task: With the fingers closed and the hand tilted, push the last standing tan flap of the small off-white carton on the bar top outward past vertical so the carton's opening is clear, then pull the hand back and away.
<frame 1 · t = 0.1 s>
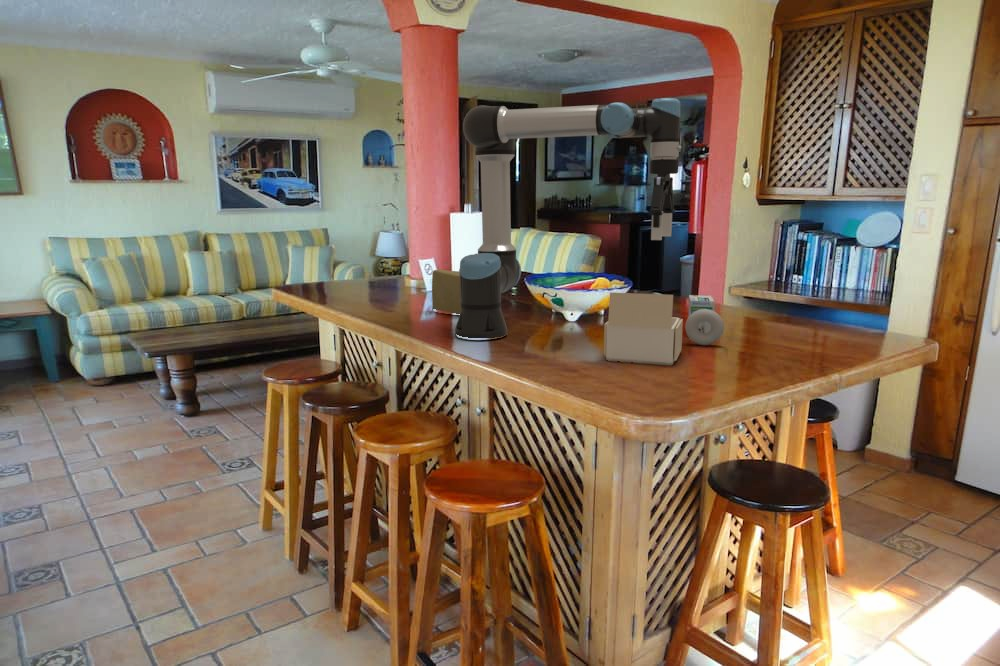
hand: (661, 238, 190), 28 cm above the countertop, tool pointing down, fingers open, 13 cm apart
brown box: (458, 315, 234), on the countertop
flap: (640, 310, 165), point 13 cm above the countertop, hinge at -10.0°
donut: (703, 346, 185), on the countertop
light bulb box: (700, 335, 199), on the countertop
carton: (643, 356, 174), on the countertop
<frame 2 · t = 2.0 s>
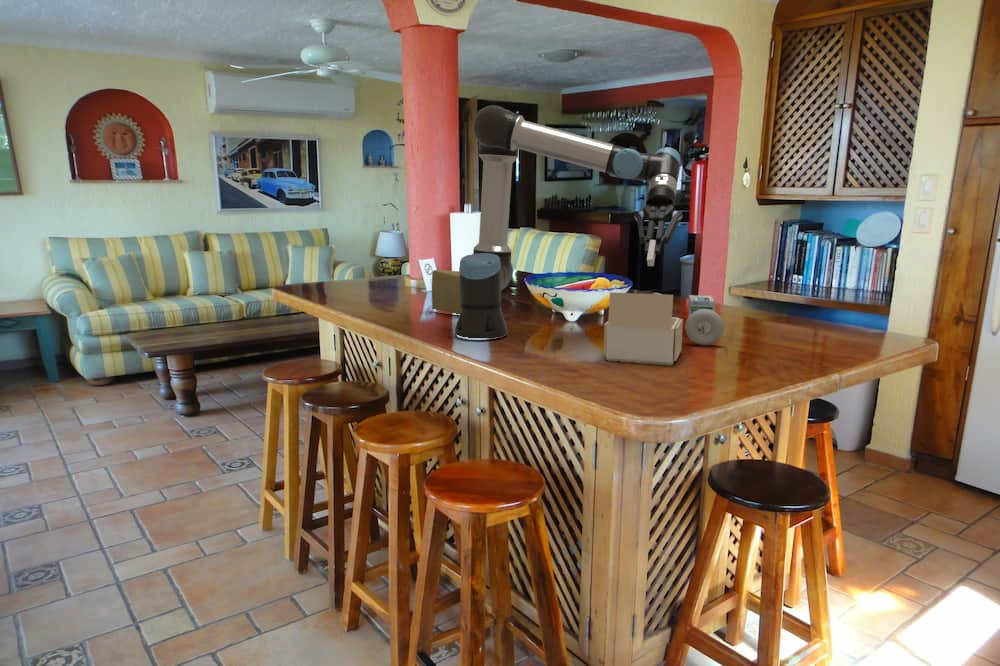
hand: (650, 262, 177), 23 cm above the countertop, tool tilted 45°, fingers closed
nothing on the countertop moved.
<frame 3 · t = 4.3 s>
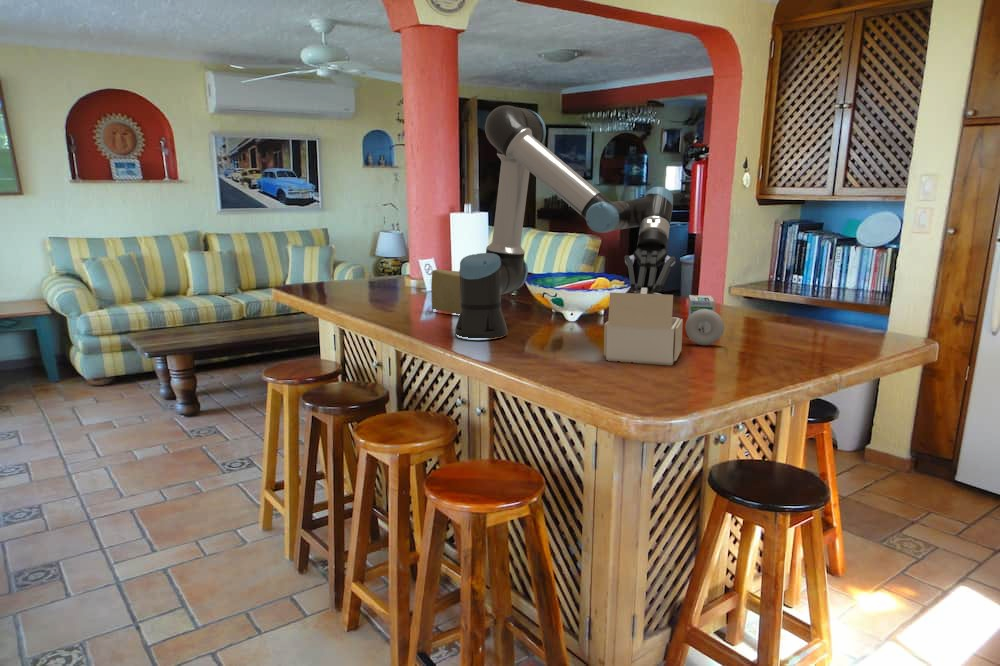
hand: (641, 312, 167), 12 cm above the countertop, tool tilted 45°, fingers closed
flap: (640, 310, 165), point 13 cm above the countertop, hinge at -9.7°, touching gripper
everything else where it was.
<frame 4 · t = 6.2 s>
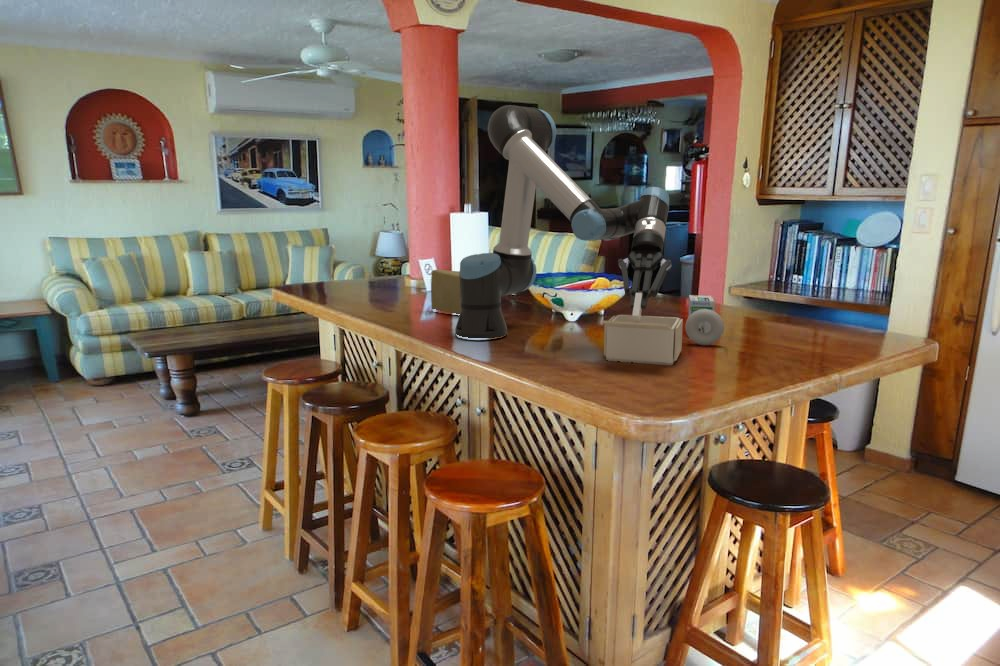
hand: (636, 318, 159), 12 cm above the countertop, tool tilted 45°, fingers closed
flap: (636, 325, 162), point 10 cm above the countertop, hinge at 72.0°, touching gripper
everything else where it was.
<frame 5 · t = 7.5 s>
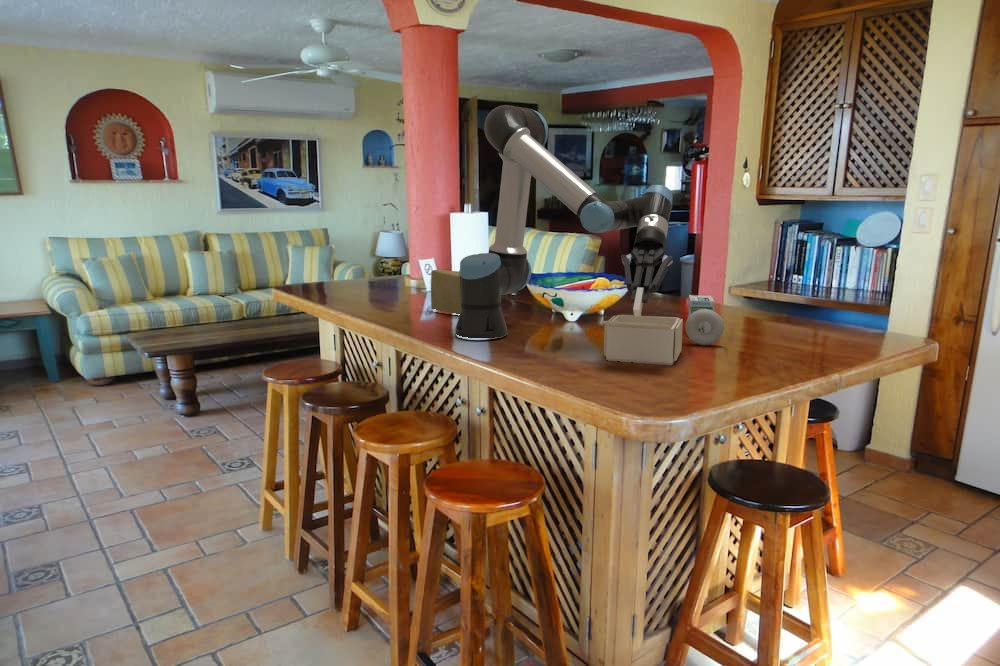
hand: (636, 312, 164), 13 cm above the countertop, tool tilted 45°, fingers closed
flap: (636, 325, 162), point 10 cm above the countertop, hinge at 72.4°
everything else where it was.
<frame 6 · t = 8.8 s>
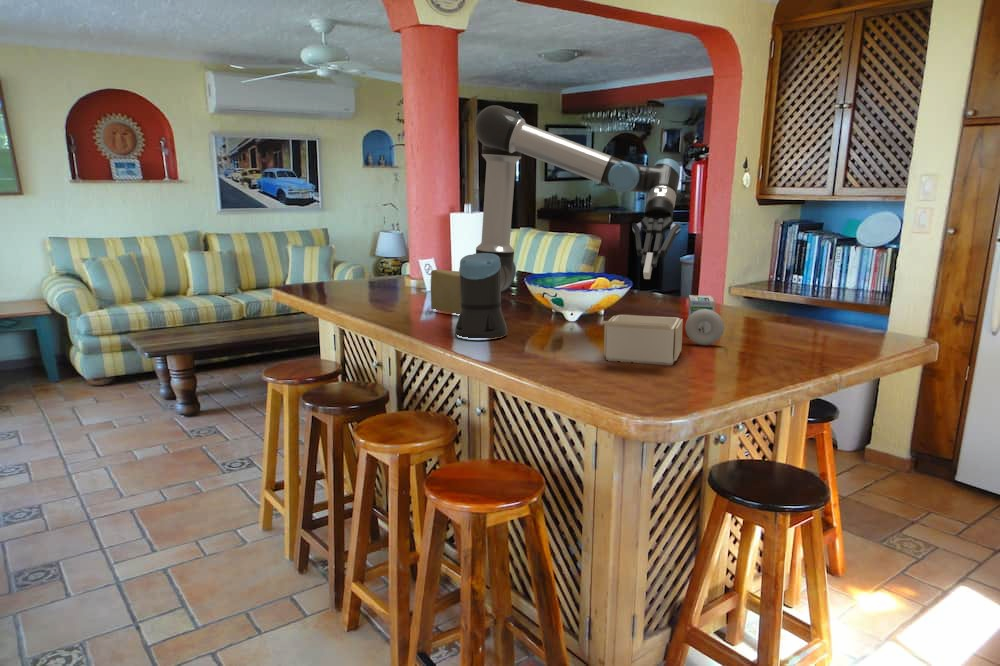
hand: (646, 275, 175), 20 cm above the countertop, tool tilted 45°, fingers closed
nothing on the countertop moved.
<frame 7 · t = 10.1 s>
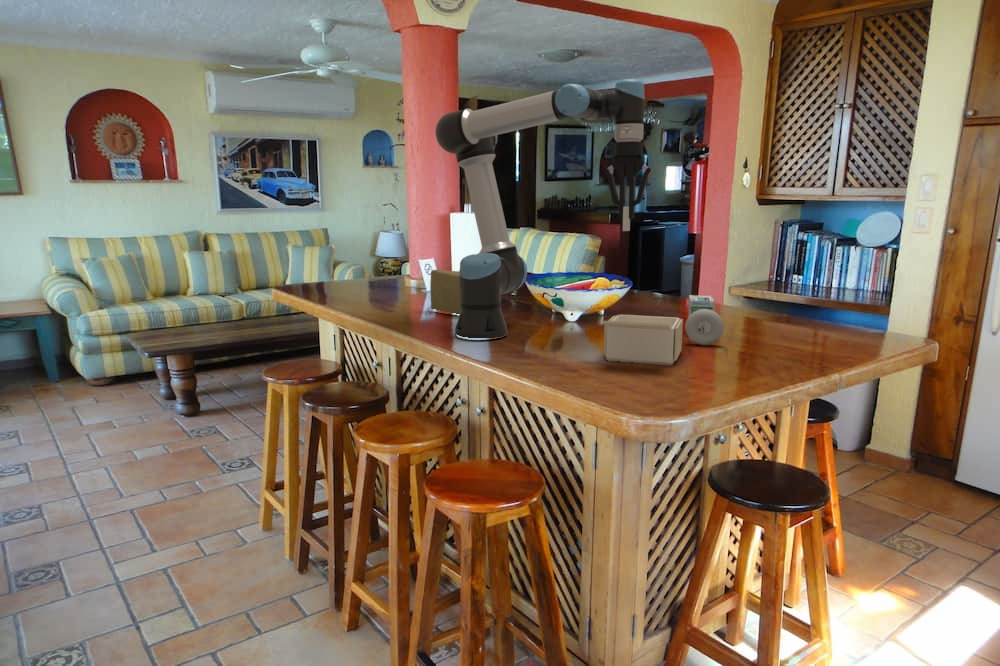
hand: (626, 230, 188), 30 cm above the countertop, tool pointing down, fingers closed
nothing on the countertop moved.
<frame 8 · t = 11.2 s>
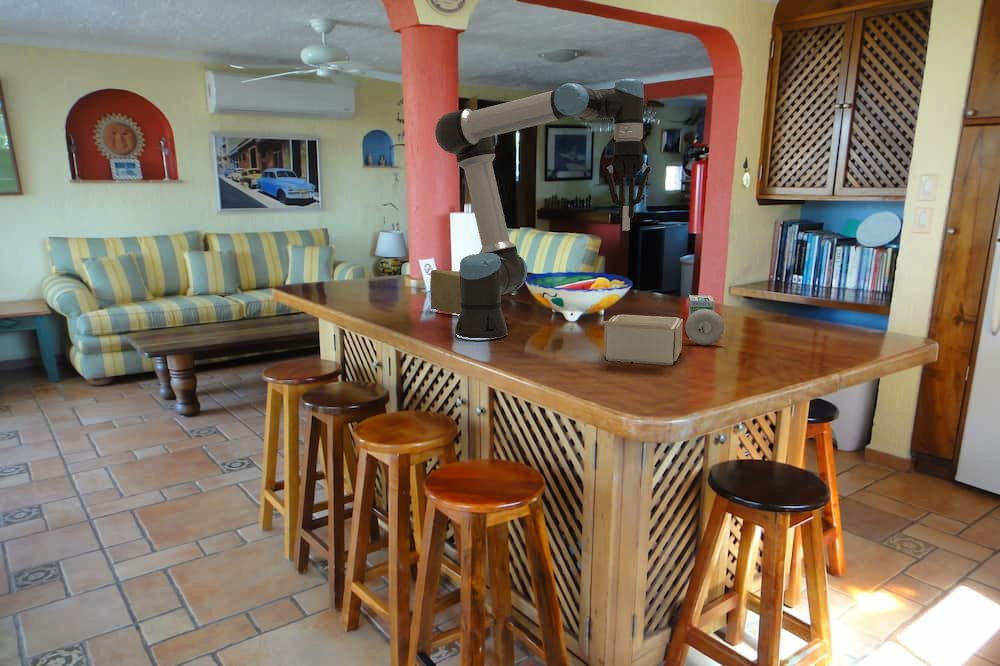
hand: (626, 230, 188), 30 cm above the countertop, tool pointing down, fingers closed
nothing on the countertop moved.
at the end: flap at +72° (first picture: -10°); the gripper is holding nothing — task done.
